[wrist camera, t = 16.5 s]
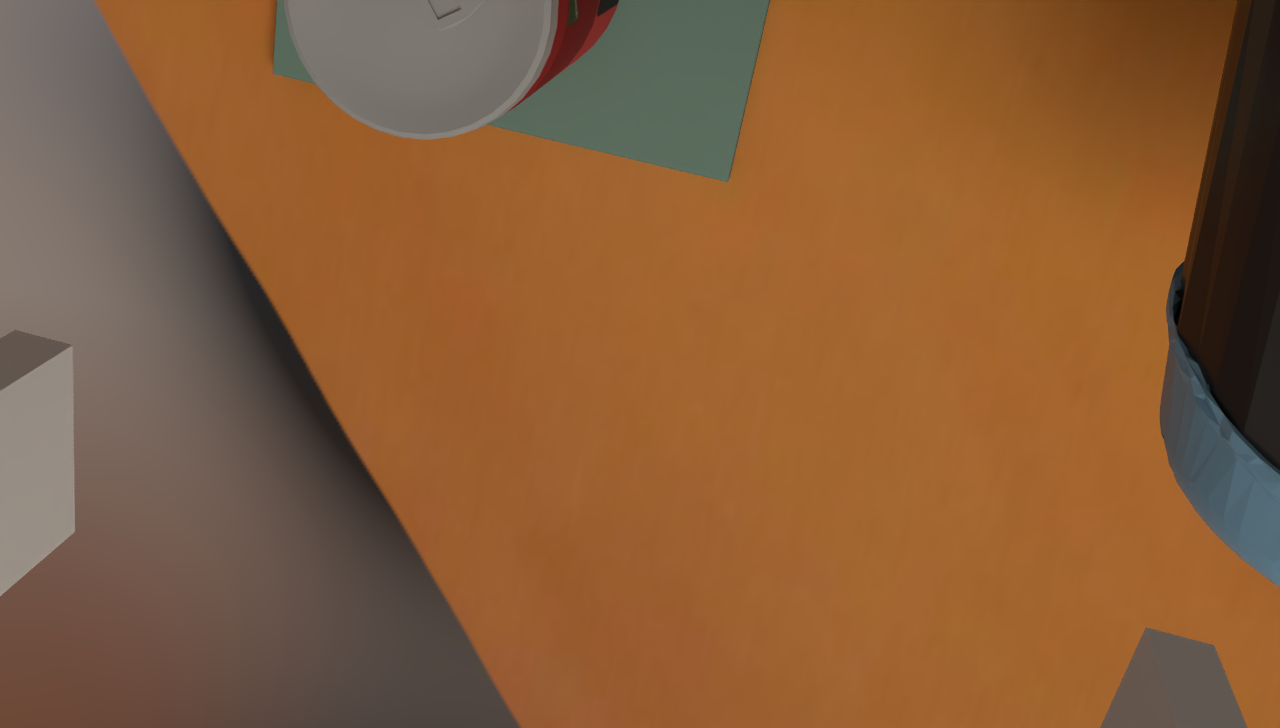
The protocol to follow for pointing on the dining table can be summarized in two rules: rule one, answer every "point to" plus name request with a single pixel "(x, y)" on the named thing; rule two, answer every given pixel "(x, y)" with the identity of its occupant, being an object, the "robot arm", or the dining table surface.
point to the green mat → (639, 84)
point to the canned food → (439, 56)
